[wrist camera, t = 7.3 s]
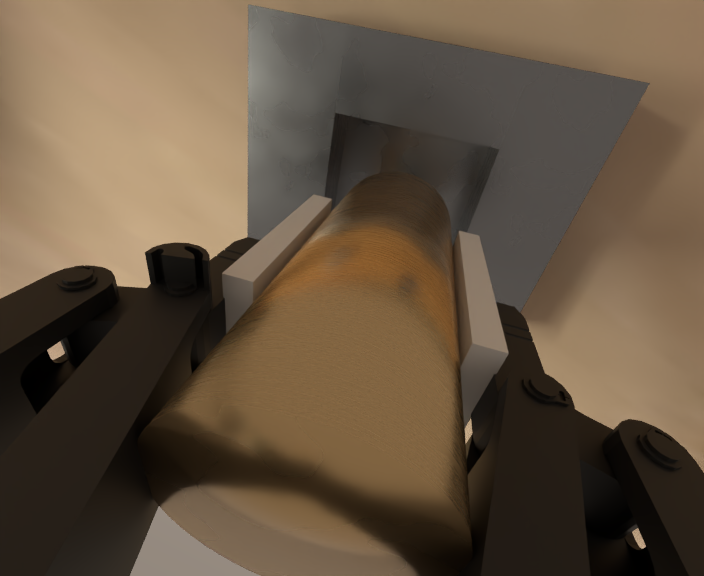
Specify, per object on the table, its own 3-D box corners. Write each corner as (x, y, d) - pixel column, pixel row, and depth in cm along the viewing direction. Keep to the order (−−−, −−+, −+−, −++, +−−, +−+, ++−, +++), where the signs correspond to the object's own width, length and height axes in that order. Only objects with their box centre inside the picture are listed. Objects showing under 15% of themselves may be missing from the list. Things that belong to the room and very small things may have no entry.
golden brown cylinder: (330, 263, 17) (160, 539, 7) (347, 158, 14) (100, 353, 4) (430, 290, 16) (412, 632, 6) (468, 187, 13) (549, 497, 3)
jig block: (273, 257, 25) (247, 283, 22) (285, 19, 17) (248, 4, 14) (489, 314, 23) (497, 353, 20) (605, 83, 16) (649, 83, 13)
